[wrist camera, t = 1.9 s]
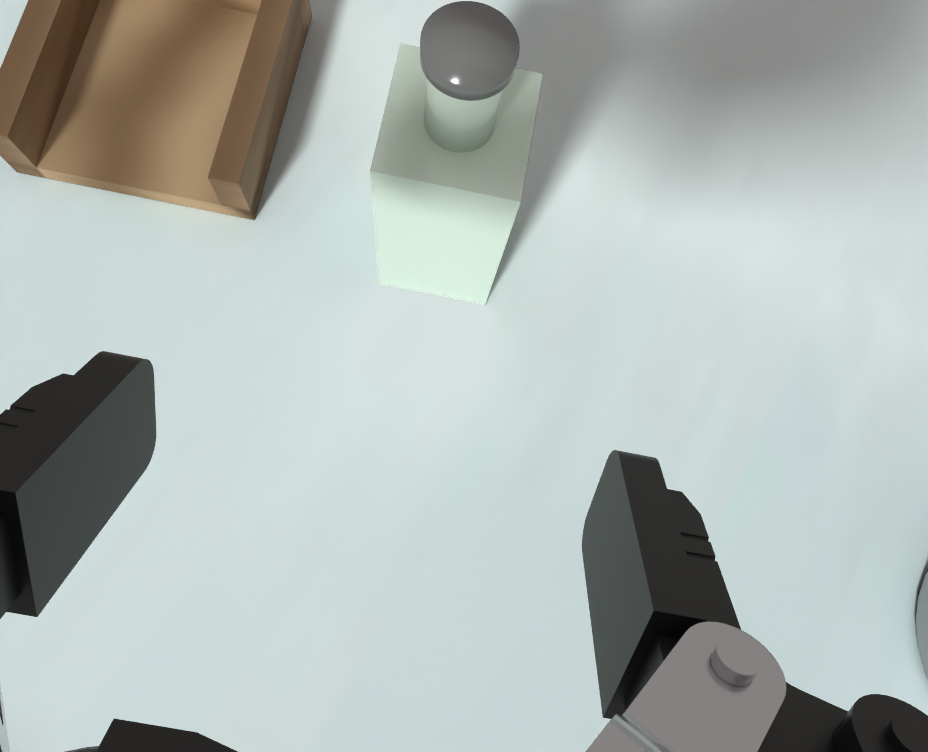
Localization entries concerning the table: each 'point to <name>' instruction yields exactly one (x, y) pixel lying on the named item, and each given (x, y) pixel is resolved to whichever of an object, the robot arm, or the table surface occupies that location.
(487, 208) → the bottle
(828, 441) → the table surface
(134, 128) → the rest
